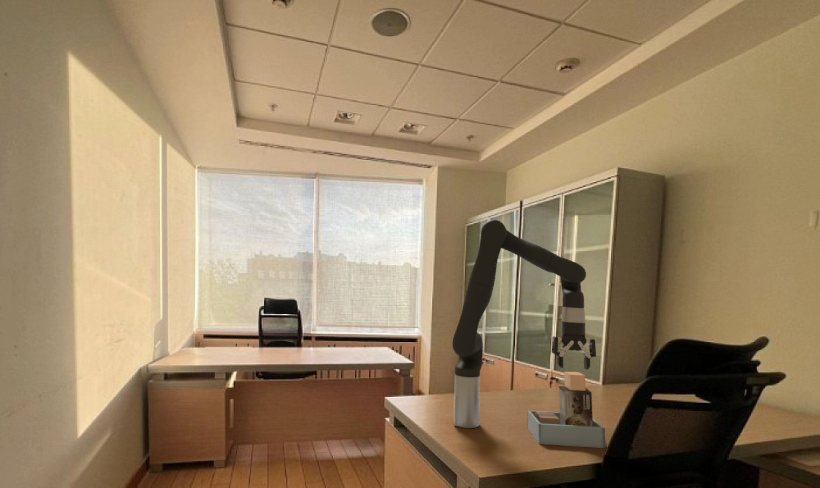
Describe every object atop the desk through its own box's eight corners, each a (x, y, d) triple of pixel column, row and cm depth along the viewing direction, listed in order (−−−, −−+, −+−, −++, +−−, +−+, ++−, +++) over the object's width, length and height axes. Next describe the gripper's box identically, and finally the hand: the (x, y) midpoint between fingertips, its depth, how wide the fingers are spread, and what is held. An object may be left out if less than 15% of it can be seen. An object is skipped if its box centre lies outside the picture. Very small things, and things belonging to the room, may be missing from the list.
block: (559, 437, 123) (558, 418, 124) (540, 436, 124) (540, 417, 124) (553, 431, 129) (553, 413, 130) (535, 430, 130) (535, 411, 130)
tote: (539, 443, 119) (538, 424, 120) (527, 427, 134) (527, 410, 135) (605, 448, 118) (604, 428, 119) (586, 431, 133) (585, 413, 133)
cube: (570, 390, 125) (570, 374, 126) (564, 386, 130) (564, 371, 131) (585, 390, 125) (585, 375, 126) (579, 387, 130) (578, 372, 131)
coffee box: (586, 435, 128) (585, 386, 131) (594, 443, 122) (592, 391, 124) (559, 433, 129) (558, 385, 131) (565, 440, 123) (564, 389, 125)
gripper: (556, 320, 128) (556, 369, 126) (598, 322, 127) (599, 371, 125) (549, 318, 135) (549, 365, 133) (589, 321, 135) (590, 367, 133)
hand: (573, 368), depth 129 cm, fingers open, 8 cm apart
